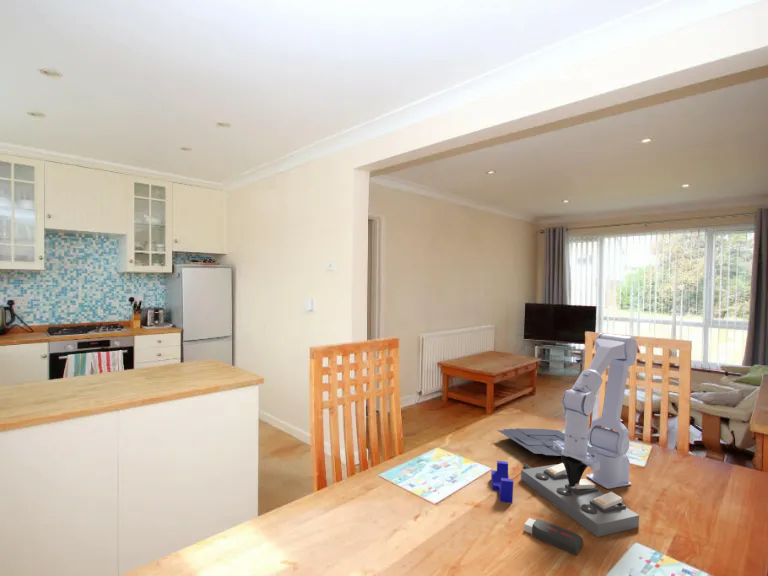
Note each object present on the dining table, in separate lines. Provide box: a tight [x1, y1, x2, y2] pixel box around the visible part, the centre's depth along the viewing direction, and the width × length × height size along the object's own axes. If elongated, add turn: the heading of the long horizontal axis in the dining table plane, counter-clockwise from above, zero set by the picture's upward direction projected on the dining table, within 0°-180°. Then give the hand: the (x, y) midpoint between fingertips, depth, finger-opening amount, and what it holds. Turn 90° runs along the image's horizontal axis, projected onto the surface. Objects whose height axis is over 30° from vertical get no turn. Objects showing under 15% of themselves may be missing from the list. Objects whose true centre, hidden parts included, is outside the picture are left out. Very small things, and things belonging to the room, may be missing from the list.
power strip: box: [520, 462, 640, 538], centre depth 114 cm, size 13×35×4 cm, turn 19°
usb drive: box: [523, 517, 584, 556], centre depth 95 cm, size 5×12×3 cm, turn 50°
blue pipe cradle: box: [490, 460, 514, 504], centre depth 116 cm, size 12×4×6 cm, turn 170°
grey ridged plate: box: [497, 427, 594, 457], centre depth 146 cm, size 24×30×4 cm
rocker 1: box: [547, 462, 567, 477], centre depth 120 cm, size 6×3×1 cm, turn 109°
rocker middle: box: [574, 478, 596, 489], centre depth 112 cm, size 6×3×1 cm, turn 109°
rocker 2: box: [593, 491, 623, 509], centre depth 104 cm, size 6×3×1 cm, turn 109°
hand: (573, 484), depth 111 cm, fingers closed, pressing on rocker middle
